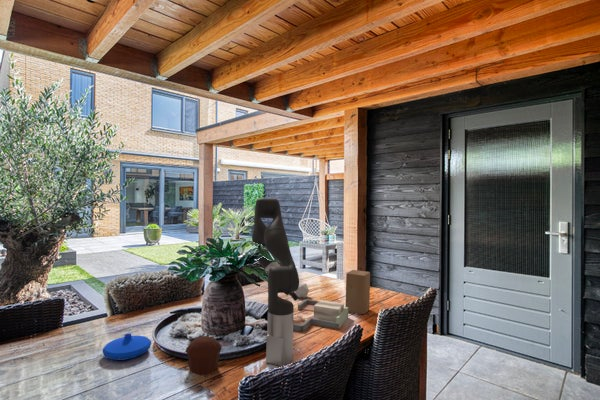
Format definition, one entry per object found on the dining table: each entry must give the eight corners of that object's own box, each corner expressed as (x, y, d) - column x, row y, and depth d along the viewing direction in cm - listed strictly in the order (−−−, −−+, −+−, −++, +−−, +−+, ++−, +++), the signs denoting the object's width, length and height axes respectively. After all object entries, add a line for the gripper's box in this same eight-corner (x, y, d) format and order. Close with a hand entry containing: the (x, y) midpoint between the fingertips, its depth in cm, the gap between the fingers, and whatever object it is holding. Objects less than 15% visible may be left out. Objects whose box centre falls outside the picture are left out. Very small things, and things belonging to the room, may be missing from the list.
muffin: (225, 361, 117) (226, 332, 117) (216, 378, 106) (216, 346, 106) (192, 359, 118) (192, 331, 118) (179, 376, 107) (180, 345, 106)
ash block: (338, 325, 153) (338, 309, 152) (313, 321, 157) (314, 305, 157) (343, 318, 162) (344, 303, 162) (320, 314, 166) (320, 299, 166)
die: (303, 301, 188) (312, 286, 191) (291, 293, 190) (300, 278, 193) (303, 302, 196) (311, 288, 199) (291, 294, 197) (299, 280, 200)
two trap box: (331, 337, 139) (331, 325, 139) (275, 326, 149) (275, 315, 149) (353, 311, 172) (353, 301, 172) (306, 303, 183) (306, 294, 183)
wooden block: (344, 311, 171) (346, 273, 171) (351, 306, 180) (352, 269, 180) (363, 315, 166) (365, 275, 166) (369, 309, 175) (370, 271, 175)
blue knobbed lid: (139, 340, 132) (139, 323, 131) (159, 353, 122) (159, 334, 121) (95, 354, 119) (95, 335, 119) (113, 370, 109) (113, 348, 109)
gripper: (274, 269, 162) (296, 298, 157) (286, 265, 174) (307, 291, 170) (264, 279, 164) (286, 308, 160) (276, 274, 177) (297, 300, 172)
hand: (297, 299), depth 165 cm, fingers closed
